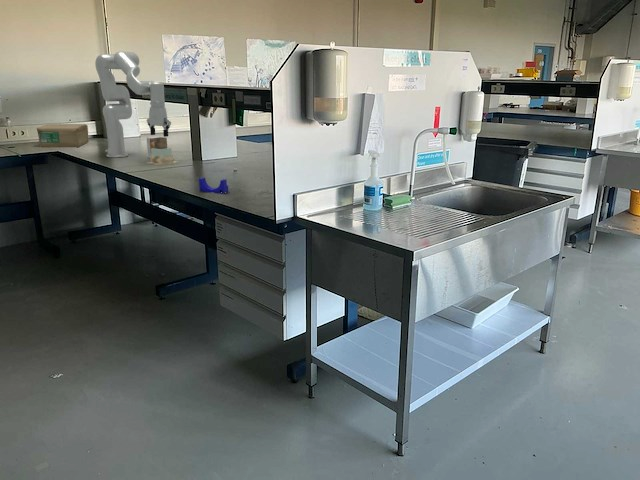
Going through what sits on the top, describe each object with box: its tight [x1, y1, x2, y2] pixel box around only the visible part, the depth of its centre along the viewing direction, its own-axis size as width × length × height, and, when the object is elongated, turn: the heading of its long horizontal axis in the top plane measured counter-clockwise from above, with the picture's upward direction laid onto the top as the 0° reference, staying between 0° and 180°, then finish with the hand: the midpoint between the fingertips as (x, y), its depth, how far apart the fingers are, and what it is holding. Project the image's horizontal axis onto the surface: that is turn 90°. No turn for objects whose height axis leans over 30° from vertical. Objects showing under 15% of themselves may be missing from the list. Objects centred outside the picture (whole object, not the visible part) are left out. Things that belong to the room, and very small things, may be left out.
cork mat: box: [145, 160, 180, 166], centre depth 306 cm, size 14×14×1 cm
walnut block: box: [154, 136, 168, 149], centre depth 303 cm, size 5×5×6 cm
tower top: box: [151, 147, 173, 157], centre depth 304 cm, size 8×8×4 cm
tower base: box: [149, 154, 175, 164], centre depth 305 cm, size 9×9×4 cm
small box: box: [146, 136, 158, 159], centre depth 319 cm, size 8×6×13 cm
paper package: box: [36, 123, 89, 148], centre depth 371 cm, size 27×26×14 cm
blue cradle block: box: [198, 177, 229, 194], centre depth 236 cm, size 12×4×6 cm, turn 74°
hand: (159, 135), depth 302 cm, fingers open, 9 cm apart
